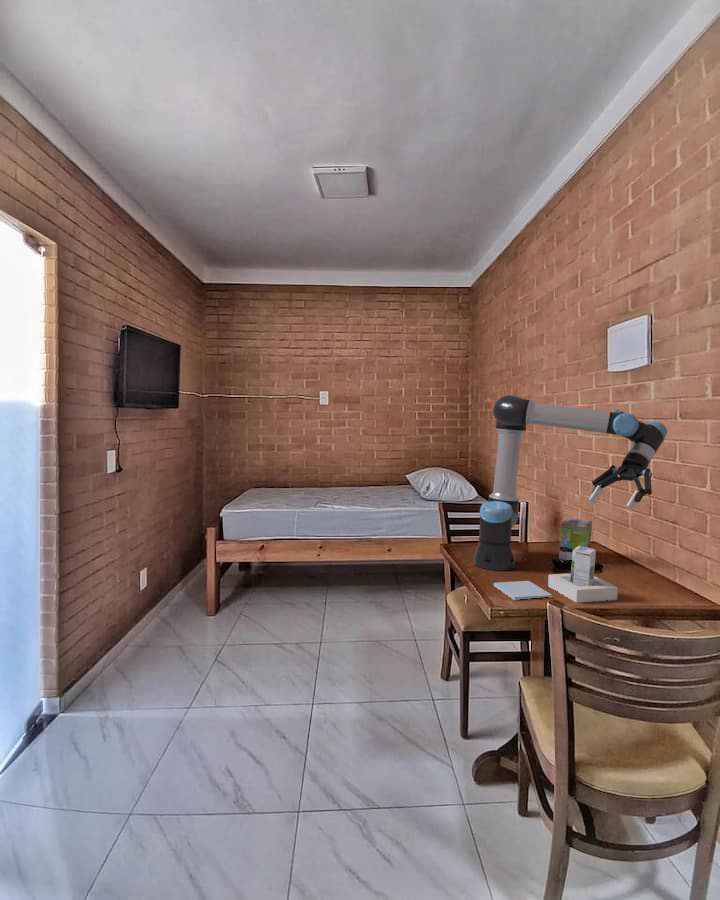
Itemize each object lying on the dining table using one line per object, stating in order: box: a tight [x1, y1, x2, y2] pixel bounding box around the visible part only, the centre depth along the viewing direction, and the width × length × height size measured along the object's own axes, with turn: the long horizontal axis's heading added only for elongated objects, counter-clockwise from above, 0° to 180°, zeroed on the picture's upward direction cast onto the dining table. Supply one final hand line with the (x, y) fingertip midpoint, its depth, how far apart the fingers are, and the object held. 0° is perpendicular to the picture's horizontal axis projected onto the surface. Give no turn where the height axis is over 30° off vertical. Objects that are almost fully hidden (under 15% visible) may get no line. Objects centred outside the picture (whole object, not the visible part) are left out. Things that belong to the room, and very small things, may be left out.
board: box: [493, 580, 553, 601], centre depth 156 cm, size 13×13×1 cm
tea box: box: [558, 517, 593, 561], centre depth 198 cm, size 15×10×15 cm
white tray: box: [547, 572, 619, 604], centre depth 157 cm, size 14×14×4 cm
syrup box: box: [570, 546, 597, 587], centre depth 156 cm, size 6×6×14 cm
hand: (609, 505), depth 163 cm, fingers open, 13 cm apart
